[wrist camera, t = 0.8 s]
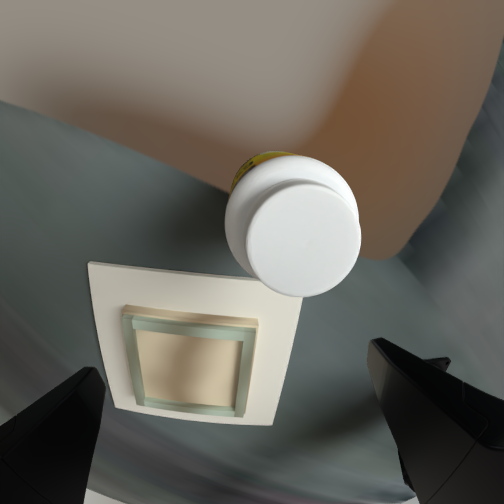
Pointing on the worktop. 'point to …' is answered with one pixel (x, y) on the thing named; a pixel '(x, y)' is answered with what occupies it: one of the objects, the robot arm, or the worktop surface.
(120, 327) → the cream square board
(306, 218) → the supplement bottle
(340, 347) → the worktop surface
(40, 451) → the robot arm
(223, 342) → the square wooden tray
